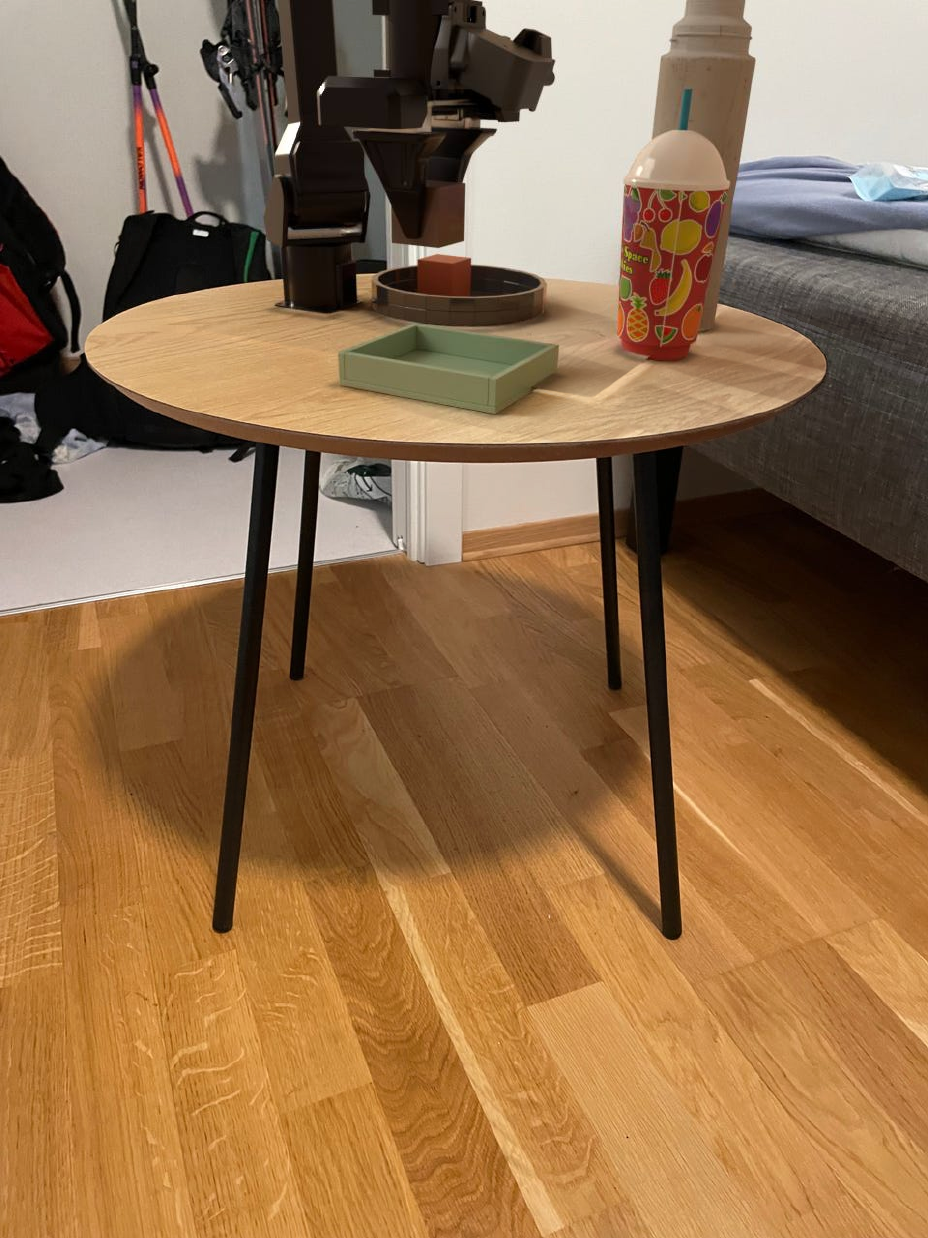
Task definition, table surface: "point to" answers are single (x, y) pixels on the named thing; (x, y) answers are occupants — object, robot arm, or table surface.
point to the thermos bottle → (710, 99)
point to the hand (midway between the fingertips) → (427, 234)
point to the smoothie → (669, 240)
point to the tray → (448, 366)
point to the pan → (461, 298)
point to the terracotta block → (444, 275)
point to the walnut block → (437, 216)
